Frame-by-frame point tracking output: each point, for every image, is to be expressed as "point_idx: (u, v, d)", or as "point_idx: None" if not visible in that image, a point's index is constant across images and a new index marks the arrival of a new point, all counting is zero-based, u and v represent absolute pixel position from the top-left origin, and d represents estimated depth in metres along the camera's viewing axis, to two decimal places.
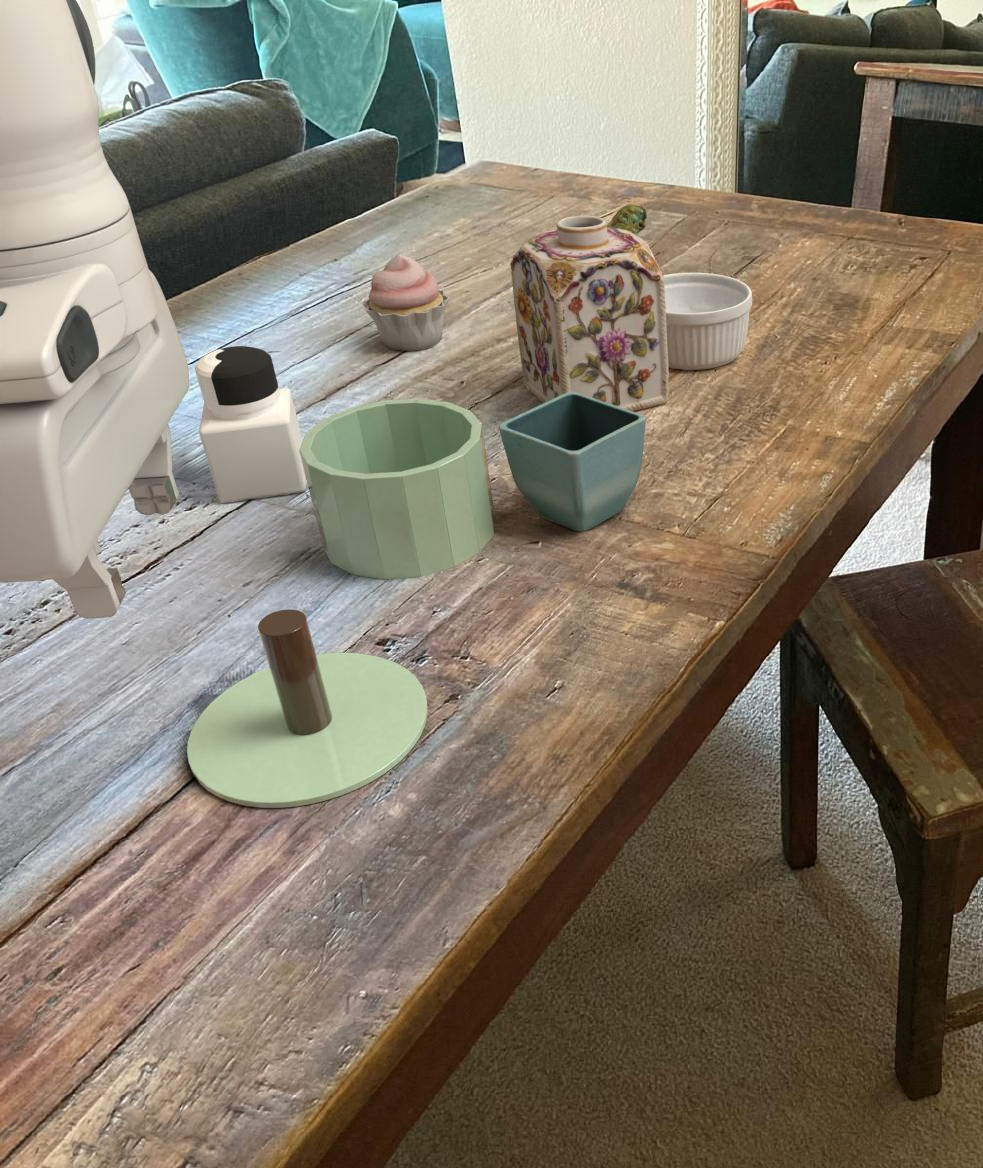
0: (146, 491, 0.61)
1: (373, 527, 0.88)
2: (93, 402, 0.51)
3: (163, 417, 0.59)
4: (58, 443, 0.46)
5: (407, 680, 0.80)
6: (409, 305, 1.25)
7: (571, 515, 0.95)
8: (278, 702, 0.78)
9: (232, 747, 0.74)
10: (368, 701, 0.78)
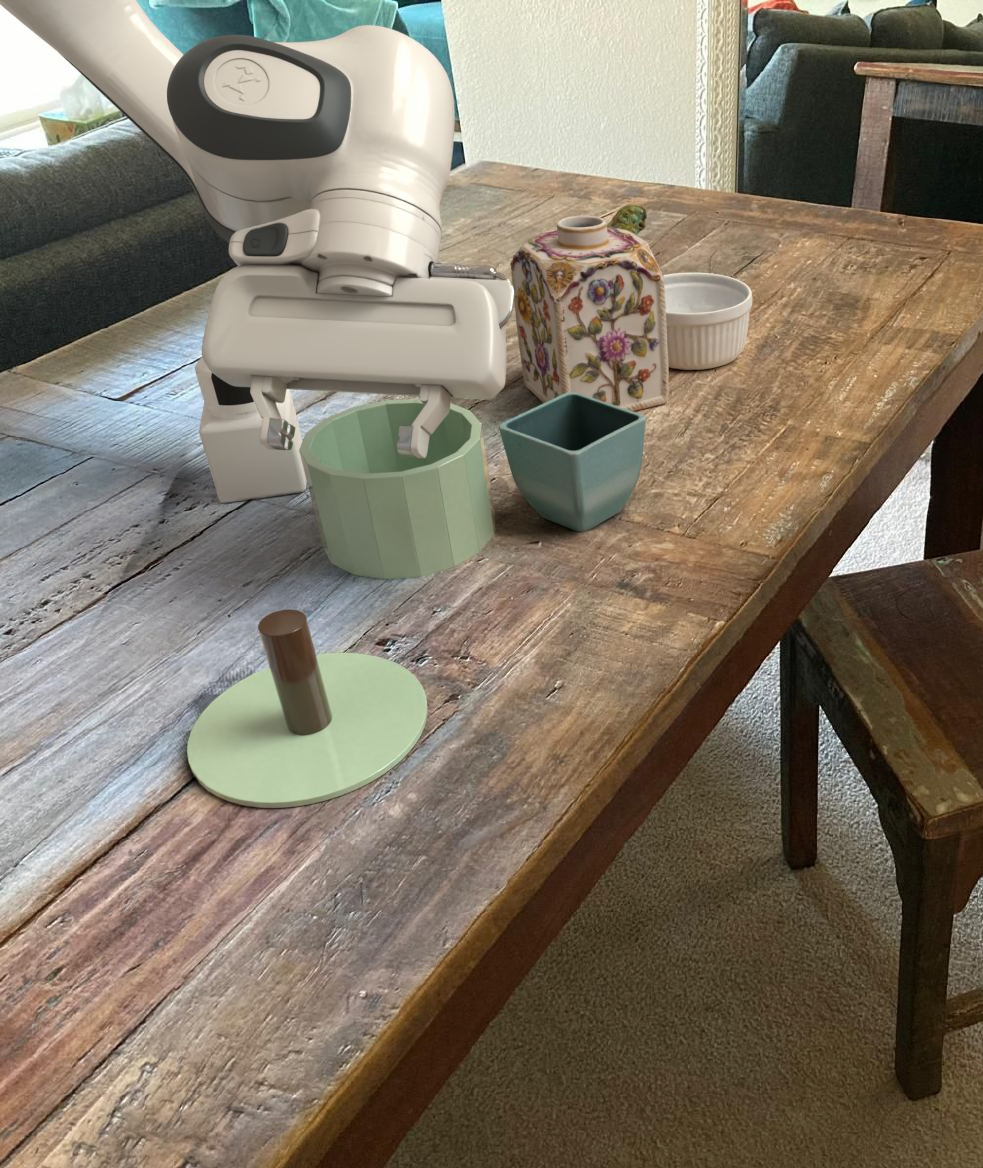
0: None
1: (373, 527, 0.88)
2: (321, 311, 0.79)
3: (402, 367, 0.77)
4: (228, 285, 0.78)
5: (407, 680, 0.80)
6: None
7: (571, 515, 0.95)
8: (278, 702, 0.78)
9: (232, 747, 0.74)
10: (368, 701, 0.78)
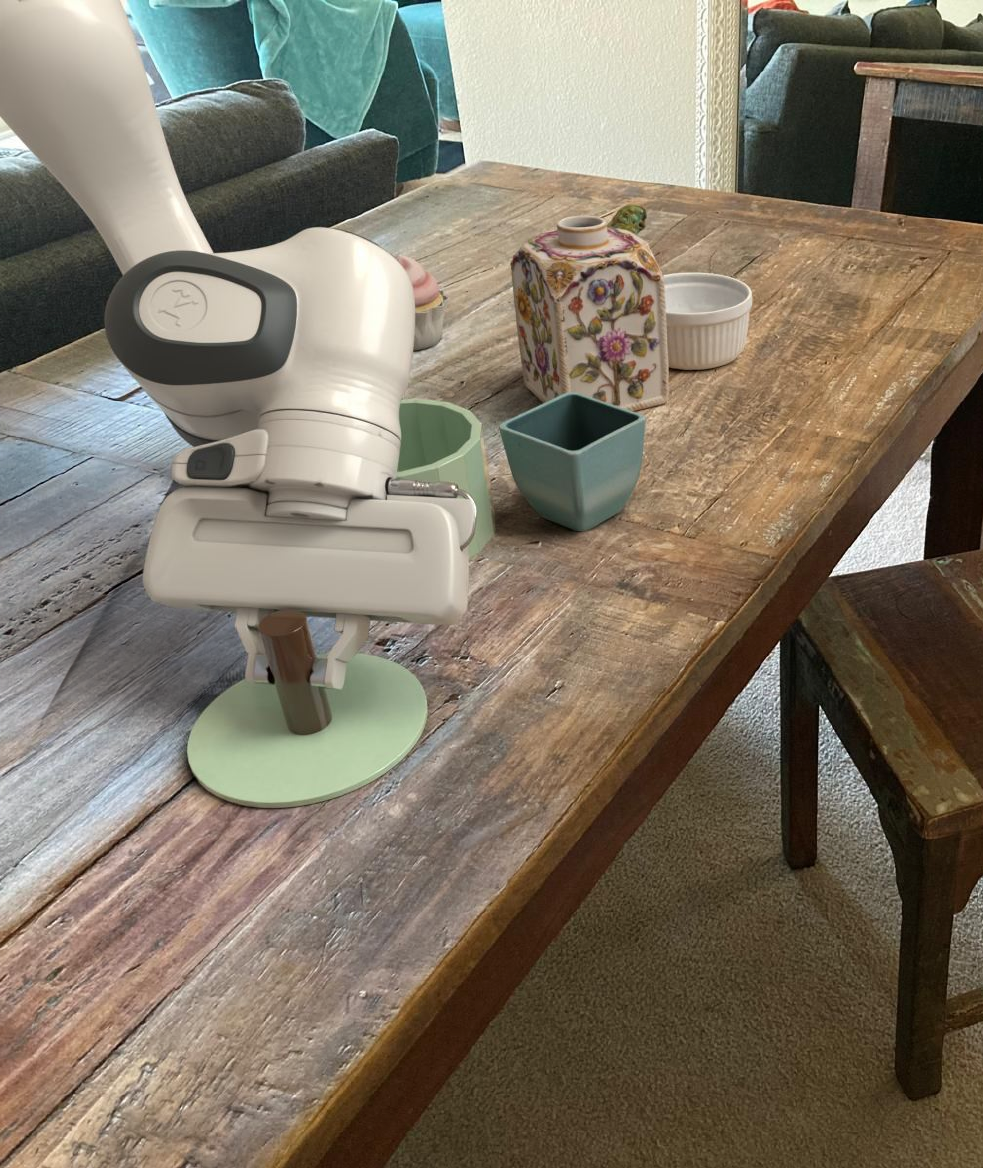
0: None
1: None
2: (271, 535, 0.74)
3: (356, 599, 0.72)
4: (170, 509, 0.74)
5: (407, 680, 0.80)
6: None
7: (571, 515, 0.95)
8: (278, 702, 0.78)
9: (232, 747, 0.74)
10: (368, 701, 0.78)
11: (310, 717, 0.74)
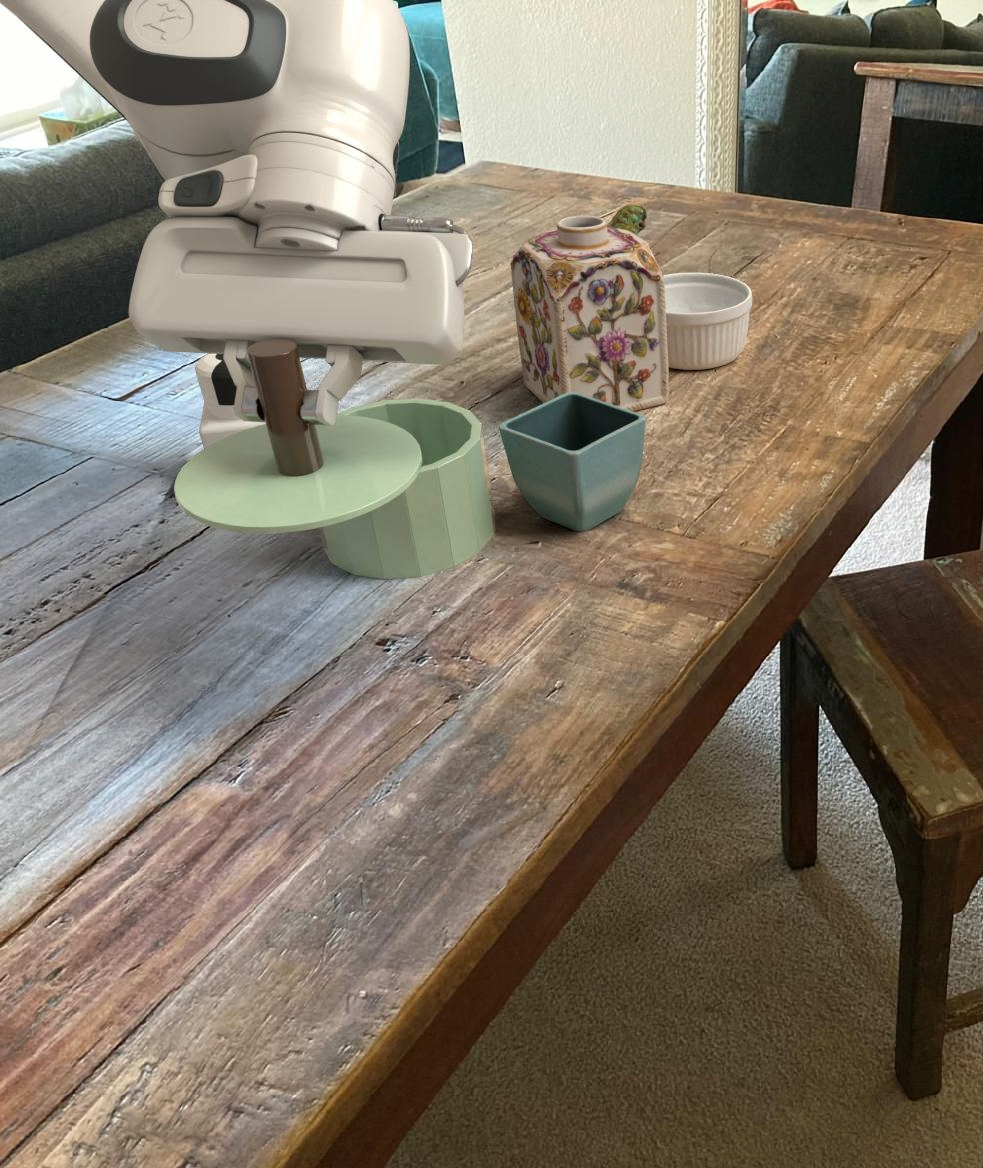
0: None
1: (373, 527, 0.88)
2: (260, 267, 0.72)
3: (348, 327, 0.70)
4: (157, 239, 0.71)
5: (401, 435, 0.77)
6: None
7: (571, 515, 0.95)
8: (268, 451, 0.75)
9: (220, 485, 0.72)
10: (361, 451, 0.76)
11: (301, 456, 0.72)
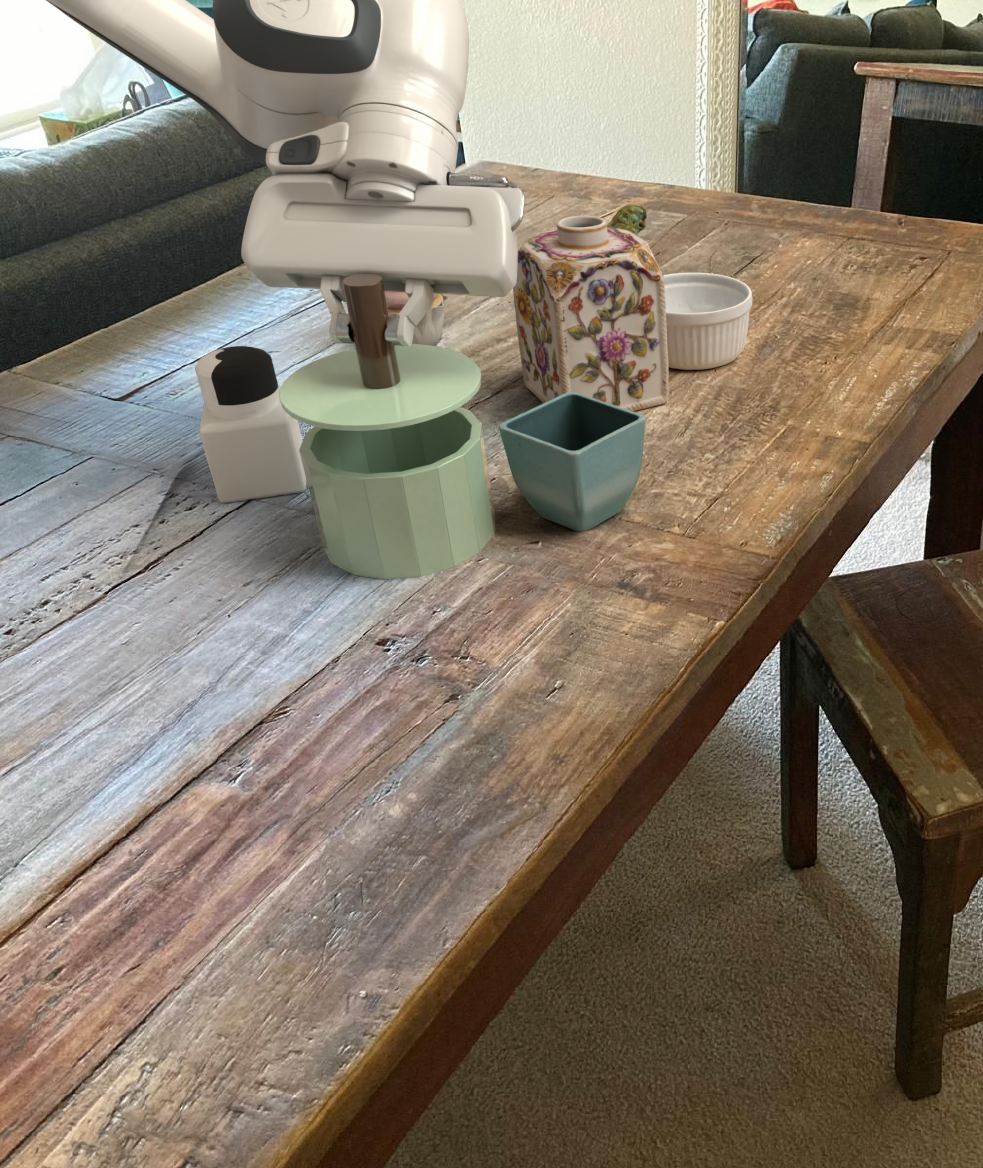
0: None
1: (373, 527, 0.88)
2: (350, 215, 0.87)
3: (424, 264, 0.85)
4: (265, 192, 0.86)
5: (462, 359, 0.93)
6: None
7: (571, 515, 0.95)
8: (353, 371, 0.90)
9: (317, 395, 0.87)
10: (430, 370, 0.91)
11: (383, 371, 0.87)
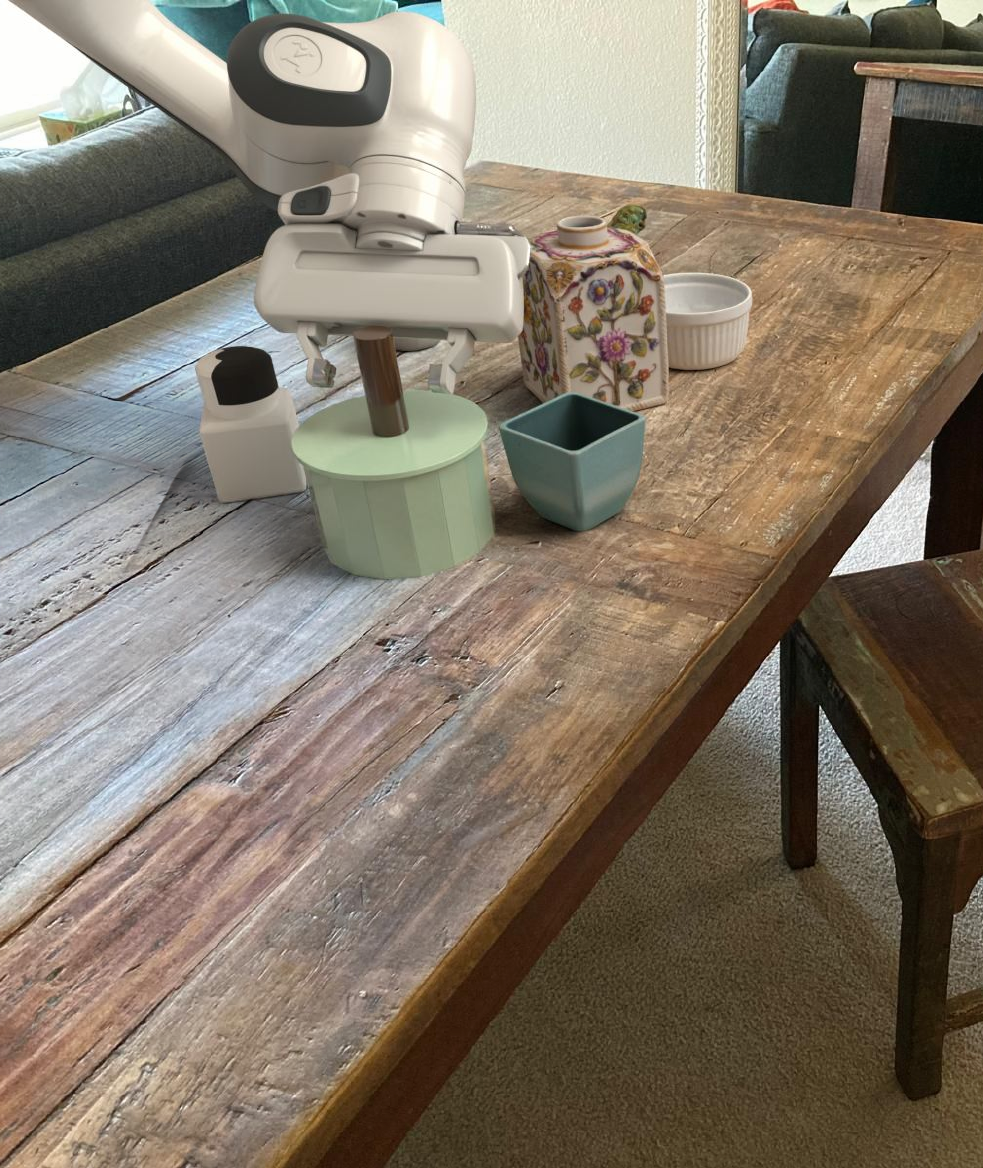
0: None
1: (373, 527, 0.88)
2: (360, 264, 0.89)
3: (432, 312, 0.87)
4: (277, 241, 0.88)
5: (469, 406, 0.95)
6: None
7: (571, 515, 0.95)
8: (363, 418, 0.93)
9: (328, 444, 0.89)
10: (438, 418, 0.93)
11: (393, 420, 0.89)
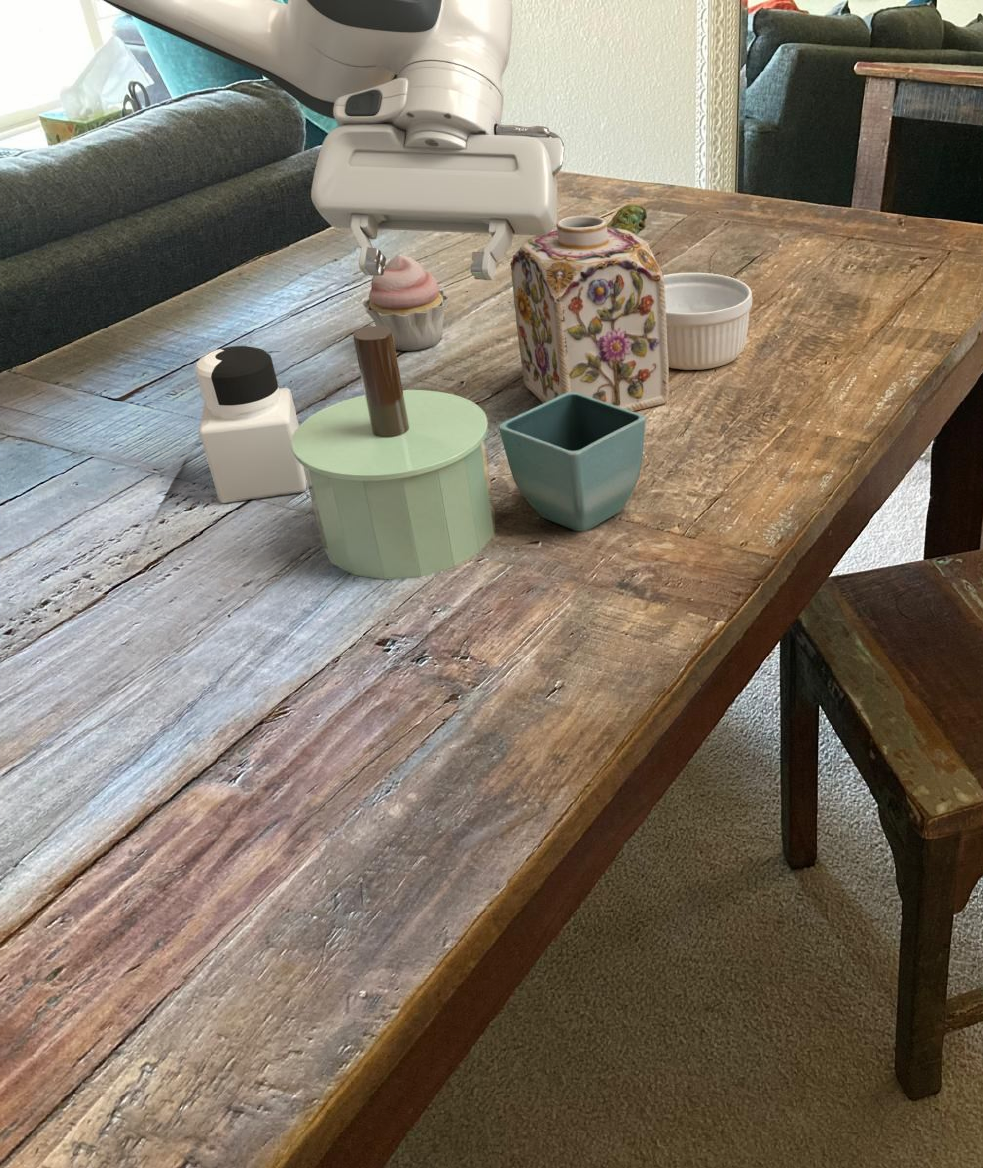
0: None
1: (373, 527, 0.88)
2: (408, 161, 0.97)
3: (475, 204, 0.96)
4: (332, 141, 0.97)
5: (469, 406, 0.95)
6: (409, 305, 1.25)
7: (571, 515, 0.95)
8: (363, 418, 0.93)
9: (328, 444, 0.89)
10: (438, 418, 0.93)
11: (393, 420, 0.89)
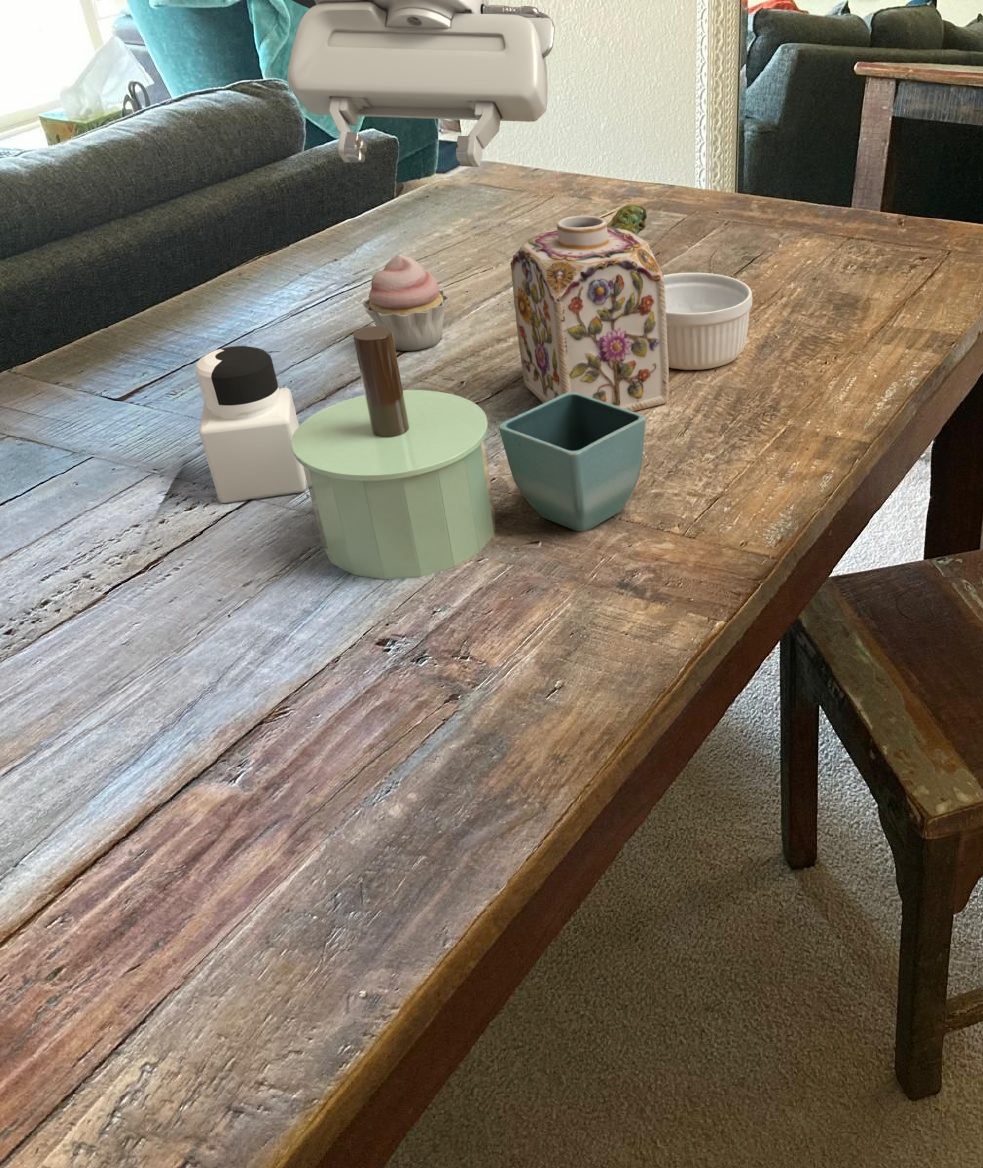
0: None
1: (373, 527, 0.88)
2: (390, 42, 0.92)
3: (460, 85, 0.91)
4: (310, 19, 0.92)
5: (469, 406, 0.95)
6: (409, 305, 1.25)
7: (571, 515, 0.95)
8: (363, 418, 0.93)
9: (328, 444, 0.89)
10: (438, 418, 0.93)
11: (393, 420, 0.89)
